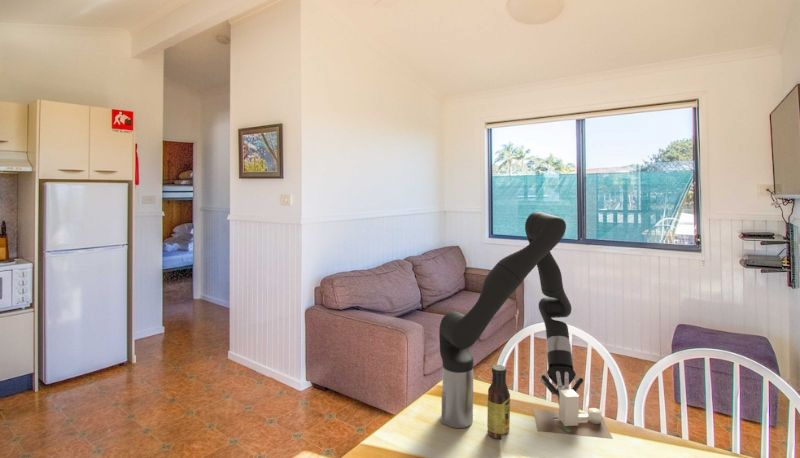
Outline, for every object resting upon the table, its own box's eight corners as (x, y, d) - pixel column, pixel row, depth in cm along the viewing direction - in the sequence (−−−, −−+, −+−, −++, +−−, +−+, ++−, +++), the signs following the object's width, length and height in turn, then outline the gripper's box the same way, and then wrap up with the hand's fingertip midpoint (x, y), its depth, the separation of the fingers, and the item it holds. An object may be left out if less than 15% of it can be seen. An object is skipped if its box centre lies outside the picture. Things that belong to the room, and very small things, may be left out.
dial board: (537, 435, 124) (537, 430, 124) (533, 413, 136) (533, 408, 135) (612, 443, 120) (612, 437, 120) (601, 419, 132) (601, 414, 132)
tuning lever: (596, 416, 130) (597, 388, 129) (603, 424, 126) (605, 394, 125) (551, 419, 129) (552, 390, 128) (557, 426, 125) (558, 397, 124)
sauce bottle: (509, 441, 121) (511, 374, 119) (487, 439, 123) (488, 372, 120) (508, 428, 128) (510, 364, 125) (487, 426, 129) (488, 362, 127)
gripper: (539, 347, 138) (543, 403, 128) (583, 350, 136) (590, 407, 126) (536, 356, 144) (540, 410, 134) (578, 358, 142) (585, 414, 132)
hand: (564, 409), depth 130 cm, fingers closed
